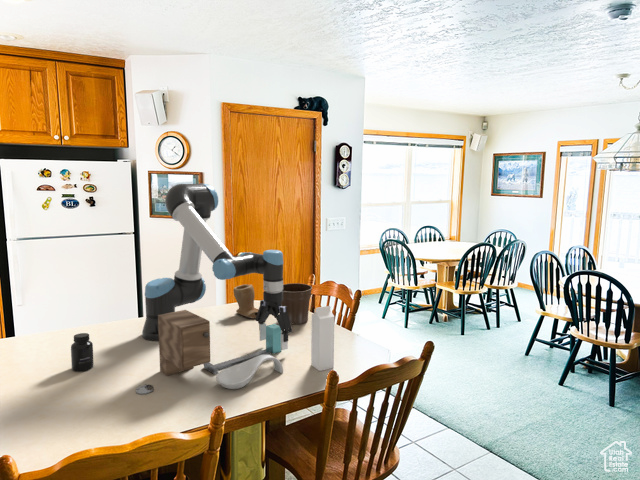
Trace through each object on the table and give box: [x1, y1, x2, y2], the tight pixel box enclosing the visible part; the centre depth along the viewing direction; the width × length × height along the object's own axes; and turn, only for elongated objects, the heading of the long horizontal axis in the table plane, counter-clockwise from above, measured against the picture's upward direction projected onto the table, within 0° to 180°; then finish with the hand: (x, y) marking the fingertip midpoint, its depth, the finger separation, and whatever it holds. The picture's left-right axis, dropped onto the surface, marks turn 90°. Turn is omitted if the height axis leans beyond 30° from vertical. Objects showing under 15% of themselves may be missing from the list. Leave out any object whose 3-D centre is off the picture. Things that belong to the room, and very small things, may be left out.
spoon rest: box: [215, 354, 284, 390], centre depth 153 cm, size 24×12×7 cm, turn 131°
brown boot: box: [233, 283, 259, 319], centre depth 223 cm, size 15×12×15 cm
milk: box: [310, 305, 335, 372], centre depth 163 cm, size 6×6×22 cm
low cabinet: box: [158, 309, 211, 377], centre depth 154 cm, size 19×10×20 cm, turn 43°
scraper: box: [203, 323, 282, 375], centre depth 169 cm, size 7×30×10 cm, turn 133°
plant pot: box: [281, 282, 313, 325], centre depth 215 cm, size 16×16×16 cm
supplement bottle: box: [70, 332, 95, 373], centre depth 160 cm, size 7×7×12 cm
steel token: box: [135, 384, 154, 396], centre depth 145 cm, size 5×5×1 cm
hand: (273, 344), depth 178 cm, fingers open, 13 cm apart
